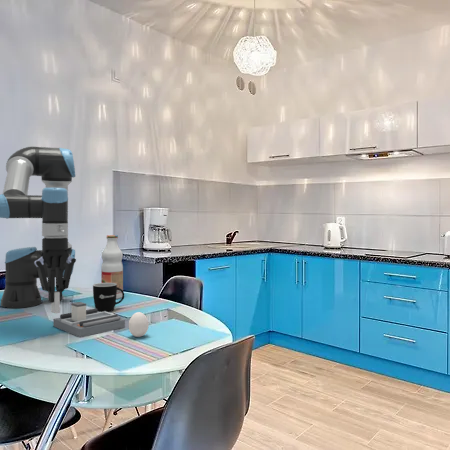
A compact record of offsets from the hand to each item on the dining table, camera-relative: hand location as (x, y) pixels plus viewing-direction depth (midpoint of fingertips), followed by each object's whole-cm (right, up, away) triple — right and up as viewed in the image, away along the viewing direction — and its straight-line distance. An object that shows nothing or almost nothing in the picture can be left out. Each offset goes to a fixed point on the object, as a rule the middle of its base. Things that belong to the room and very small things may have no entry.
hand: (55, 312), depth 133 cm
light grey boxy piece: (+5, -4, +6) cm, 9 cm away
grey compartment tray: (+8, -7, +9) cm, 14 cm away
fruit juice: (+3, -5, +58) cm, 58 cm away
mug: (+8, -6, +34) cm, 35 cm away
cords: (+8, -4, +9) cm, 13 cm away
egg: (+26, -7, -2) cm, 28 cm away
